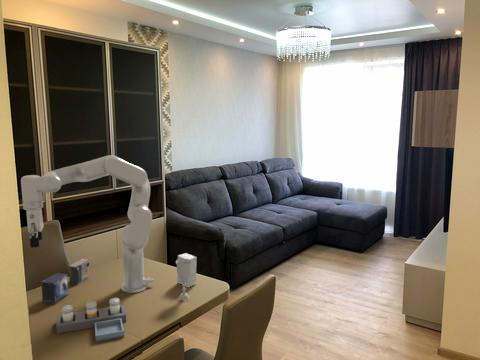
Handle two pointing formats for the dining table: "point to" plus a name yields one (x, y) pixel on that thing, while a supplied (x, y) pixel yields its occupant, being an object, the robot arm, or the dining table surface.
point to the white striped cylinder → (91, 309)
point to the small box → (54, 288)
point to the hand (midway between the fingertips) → (36, 243)
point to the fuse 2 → (114, 306)
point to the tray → (109, 330)
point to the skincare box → (192, 276)
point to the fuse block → (82, 321)
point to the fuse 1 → (67, 313)
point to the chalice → (183, 274)
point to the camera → (79, 271)
